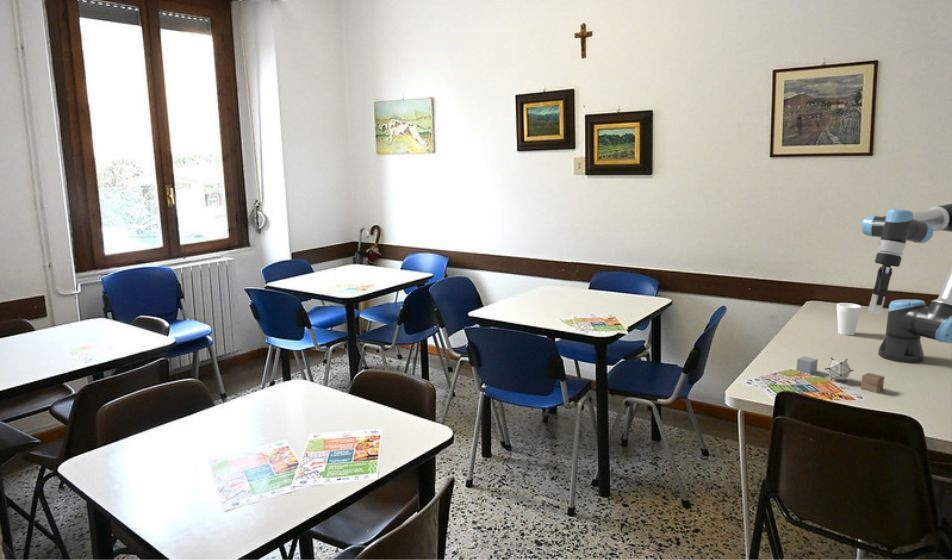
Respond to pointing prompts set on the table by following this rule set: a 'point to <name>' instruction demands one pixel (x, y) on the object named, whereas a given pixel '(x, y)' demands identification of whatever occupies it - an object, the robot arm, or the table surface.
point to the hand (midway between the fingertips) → (874, 313)
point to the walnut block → (872, 382)
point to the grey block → (807, 365)
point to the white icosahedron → (838, 369)
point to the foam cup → (847, 317)
